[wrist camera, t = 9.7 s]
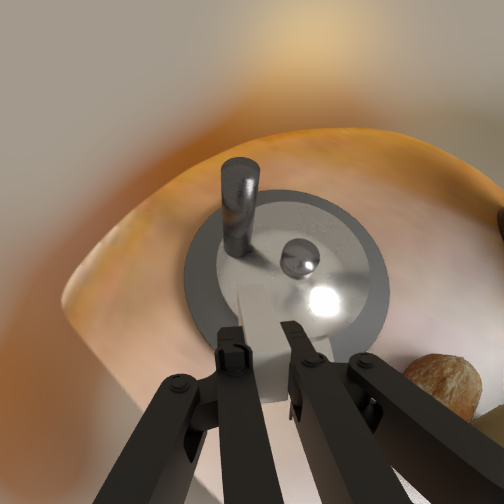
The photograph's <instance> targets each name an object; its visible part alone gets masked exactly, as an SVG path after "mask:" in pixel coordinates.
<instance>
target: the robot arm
mask: <svg viewBox="0 0 504 504" xmlns="http://www.w3.org/2000/svg"><path fill="white" fill-rule="evenodd" d="M498 223H499V227H500V231H501V234H502V236H503V239H504V207H503V208H502V209H501V210H500V211H499V213H498ZM237 305H238V324H239V326H233V327H221V328H220V330H219V331H218V332H217V349H216V350H215V353H214V354H215V362H216V371H215V372H214V373H213V374H212V375H211V376H209V377H207V378H204V379H200V380H196V379H195V378H194V377H192V376H191V375H187V374H175V375H171V376H169V377H167V378H166V379H165V380H164V381H163V382H162V383H161V385H160V387H159V388H158V390H157V392H156V394H155V395H154V397H153V399H152V400H151V402H150V404H149V405H148V407H147V409H146V411H145V412H144V414H143V416H142V418H141V419H140V421H139V423H138V424H137V426H136V428H135V430H134V431H133V433H132V435H131V437H130V438H129V440H128V442H127V443H126V445H125V447H124V449H123V451H122V452H121V454H120V456H119V457H118V460H117V461H116V463H115V464H114V466H113V468H112V470H111V472H110V473H109V475H108V477H107V479H106V480H105V482H104V484H103V486H102V487H101V489H100V491H99V493H98V495H97V496H96V498H95V500H94V502H93V503H92V504H184V501H185V499H186V496H187V493H188V490H189V487H190V484H191V481H192V477H193V475H194V472H195V469H196V466H197V463H198V459H199V456H200V453H201V450H202V447H203V444H204V441H205V438H206V435H207V430H209V429H212V428H216V427H219V438H220V455H221V469H222V482H223V494H224V504H284V501H283V497H282V493H281V489H280V485H279V481H278V477H277V473H276V469H275V464H274V460H273V456H272V452H271V447H270V443H269V439H268V434H267V430H266V425H265V421H264V416H263V412H262V407H261V404H262V403H271V402H278V401H286V400H288V392H289V395H290V398H291V404H290V414H289V420H292V416H293V418H294V421H295V424H296V427H297V430H298V433H299V436H300V439H301V442H302V445H303V448H304V451H305V454H306V457H307V460H308V463H309V466H310V469H311V472H312V475H313V478H314V481H315V484H316V487H317V490H318V493H319V496H320V499H321V502H322V504H414V503H412V501H411V500H410V498H409V497H408V495H407V493H406V491H405V490H404V488H403V486H402V484H401V483H400V481H399V479H398V477H397V476H396V474H395V472H394V470H393V469H392V467H393V468H394V469H395V470H396V471H397V472H398V473H399V474H400V475H401V476H402V477H403V478H404V479H405V480H406V481H408V482H409V483H410V484H411V485H412V486H413V487H414V488H415V489H416V490H417V491H418V492H419V493H420V494H421V495H422V496H424V497H425V498H426V499H427V500H428V501H429V502H430V503H431V504H504V448H503V447H502V446H500V445H499V444H497V443H496V442H495V441H493V440H492V439H490V438H489V437H488V436H486V435H485V434H483V433H482V432H481V431H479V430H478V429H476V428H475V427H474V426H472V425H471V424H469V423H468V422H467V421H465V420H464V419H462V418H461V417H460V416H458V415H457V414H455V413H454V412H453V411H451V410H450V409H449V408H447V407H446V406H444V405H443V404H442V403H440V402H439V401H438V400H436V399H435V398H433V397H432V396H431V395H429V394H428V393H427V392H425V391H424V390H422V389H421V388H420V387H418V386H417V385H416V384H414V383H413V382H412V381H410V380H409V379H407V378H406V377H405V376H403V375H402V374H401V373H399V372H398V371H397V370H395V369H394V368H393V367H391V366H390V365H388V364H387V363H386V362H384V361H383V360H382V359H380V358H379V357H378V356H376V355H374V354H371V353H367V352H360V353H356V354H354V355H352V356H351V357H350V359H349V362H348V363H336V362H330V361H329V360H328V358H327V357H326V356H325V355H324V354H321V353H319V352H316V350H315V348H314V346H313V345H312V343H311V341H310V339H309V338H308V337H307V334H306V332H305V331H304V329H303V327H302V325H301V324H299V323H298V322H296V321H295V320H292V321H283V322H279V320H278V318H277V315H276V313H275V311H274V308H273V306H272V304H271V301H270V299H269V297H268V294H267V292H266V290H265V288H264V285H263V284H250V285H237ZM371 398H373V399H374V400H375V401H377V402H375V401H373V400H372V399H371ZM391 466H392V467H391Z"/></svg>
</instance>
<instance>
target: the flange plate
mask: <svg viewBox="0 0 504 504" xmlns="http://www.w3.org/2000/svg"><path fill="white" fill-rule="evenodd" d="M259 176H260V167H259V165H258V164H257V163H256V162H255V161H253V160H251V159H249V158H244V157H235V158H231V159H229V160H227V161H226V162H224V164H223V165H222V167H221V190H222V222H223V238H222V241H221V243H220V245H219V249H218V253H217V261H216V268H217V279H218V285H219V289H220V292H221V295H222V298H223V300H224V302H225V303H226V305H227V307H228V309H229V310H230V311H231V313H232V314H233V316H234V317H235V318H236V319H237V320H238V305H237V285H250V284H263V285H264V288H265V290H266V292H267V294H268V297H269V299H270V301H271V304H272V306H273V308H274V311H275V313H276V315H277V318H278V320H279V322H283V321H292V320H295V321H296V322H298V323H299V324H301V325H302V327H303V329H304V331H305V332H306V334H307V337H308V338H309V339H310V341H311V343H312V345H313V346H314V348H315V350H316V352H319V353H321V354H324V355H325V356H326V357H327V358H328V360H329V361H330V362H334V358H333V353H332V349H331V345H330V341H329V339H330V338H332V337H334V336H335V335H337V334H338V333H340V332H341V331H343V330H344V329H346V328H347V327H348V326H349V325H350V324H351V323H352V322H353V321H354V320H355V319H356V318H357V316H358V315H359V314H360V312H361V310H362V309H363V307H364V305H365V303H366V300H367V297H368V293H369V289H370V269H369V263H368V260H367V257H366V254H365V251H364V249H363V247H362V245H361V244H360V242H359V240H358V239H357V237H356V236H355V235H354V233H353V232H352V231H351V230H350V229H349V228H348V227H347V226H346V225H345V224H344V223H343V222H342V221H340V220H339V219H338V218H336V217H335V216H333V215H332V214H330V213H328V212H327V211H325V210H323V209H320V208H318V207H315V206H312V205H309V204H305V203H300V202H290V201H284V202H273V203H268V204H264V205H261V206H258V207H256V200H257V192H258V184H259Z"/></svg>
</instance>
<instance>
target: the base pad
mask: <svg viewBox="0 0 504 504" xmlns="http://www.w3.org/2000/svg"><path fill="white" fill-rule="evenodd" d="M284 201H290V202H300V203H305V204H309V205H312V206H315V207H318V208H320V209H323V210H325V211H327V212H328V213H330V214H332V215H333V216H335V217H336V218H338V219H339V220H340V221H342V222H343V223H344V224H345V225H346V226H347V227H348V228H349V229H350V230H351V231H352V232H353V233H354V235H355V236H356V237H357V239H358V240H359V242H360V244H361V245H362V247H363V249H364V251H365V254H366V257H367V260H368V263H369V269H370V289H369V293H368V297H367V300H366V303H365V305H364V307H363V309H362V310H361V312H360V314H359V315H358V316H357V318H356V319H355V320H354V321H353V322H352V323H351V324H350V325H349V326H348V327H347V328H346V329H344V330H343V331H341V332H340V333H338V334H337V335H335V336H334V337H332V338H330V339H329V341H330V345H331V349H332V353H333V358H334V362H336V363H348V362H349V359H350V357H351V356H352V355H354V354H356V353H360V352H366V351H367V350H368V349H369V348H370V347H371V345H372V344H373V343H374V341H375V340H376V338H377V337H378V335H379V333H380V331H381V329H382V327H383V324H384V322H385V319H386V316H387V311H388V306H389V295H390V289H389V278H388V273H387V269H386V266H385V263H384V260H383V257H382V255H381V253H380V251H379V248H378V247H377V245H376V243H375V242H374V240H373V238H372V237H371V236H370V234H369V233H368V232H367V231H366V229H365V228H364V227H363V226H362V225H361V224H360V223H359V222H358V221H357V220H356V219H355V218H354V217H352V216H351V215H350V214H349V213H347V212H346V211H345V210H343V209H342V208H340V207H339V206H337V205H335V204H333V203H331V202H329V201H327V200H325V199H322V198H320V197H317V196H314V195H311V194H308V193H303V192H298V191H290V190H268V191H260V192H257V200H256V207H258V206H261V205H264V204H268V203H273V202H284ZM222 238H223V222H222V207H221V208H220V209H218V210H217V211H216V212H215V213H214V214H212V215H211V216H210V217H209V218H208V219H207V220H206V221H205V223H204V224H203V225H202V226H201V228H200V229H199V230H198V232H197V233H196V235H195V237H194V239H193V241H192V243H191V245H190V248H189V251H188V254H187V257H186V262H185V268H184V288H185V295H186V300H187V303H188V307H189V310H190V313H191V315H192V317H193V319H194V321H195V323H196V326H197V328H198V329H199V331H200V332H201V334H202V335H203V337H204V338H205V340H206V341H207V342H208V343H209V344H210V346H211V347H212V348H213V349H214V350H216V349H217V332H218V331H219V330H220V328H221V327H233V326H239V324H238V320H237V319H236V318H235V317H234V316H233V314H232V313H231V311H230V310H229V309H228V307H227V305H226V303H225V302H224V300H223V298H222V295H221V292H220V289H219V285H218V279H217V268H216V261H217V253H218V249H219V245H220V243H221V241H222Z"/></svg>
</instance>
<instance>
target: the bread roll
mask: <svg viewBox="0 0 504 504" xmlns="http://www.w3.org/2000/svg"><path fill="white" fill-rule="evenodd" d="M403 376H405V377H406V378H407V379H409V380H410V381H412V382H413V383H414V384H416V385H417V386H418V387H420V388H421V389H422V390H424V391H425V392H427V393H428V394H429V395H431V396H432V397H433V398H435V399H436V400H438V401H439V402H440V403H442V404H443V405H444V406H446V407H447V408H449V409H450V410H451V411H453V412H454V413H455V414H457V415H458V416H460V417H461V418H462V419H464V420H465V421H467V422H468V423H469V422H470V420H471V418H472V417H473V415H474V412H475V410H476V408H477V406H478V403H479V400H480V396H481V392H482V382H481V378H480V375H479V374H478V372H477V371H476V370H475V368H474V367H473V366H472V365H471V364H470V363H469V362H468V361H466V360H464V358H463V357H457V356H451V355H442V354H429V355H425V356H423V357H421V358H419V359H417V360H415V361H414V362H412V363H411V364H410V366H409V367H408V368H407V369H406V370H405V372H404V373H403Z"/></svg>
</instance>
